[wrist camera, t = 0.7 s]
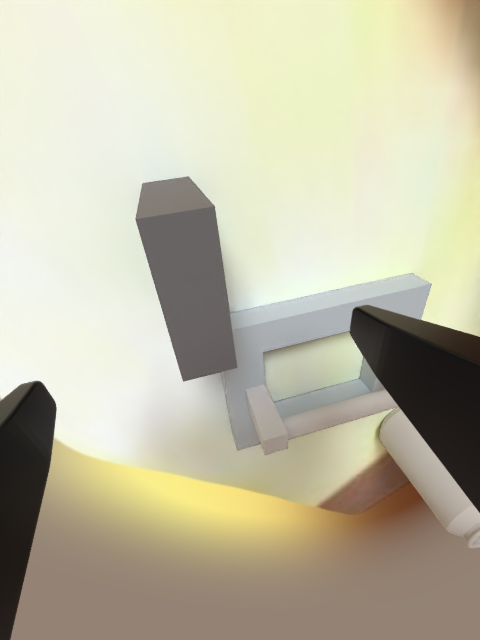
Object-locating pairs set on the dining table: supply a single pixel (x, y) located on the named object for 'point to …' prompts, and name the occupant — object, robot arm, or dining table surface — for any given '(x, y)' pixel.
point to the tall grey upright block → (188, 274)
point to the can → (430, 477)
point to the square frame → (297, 327)
